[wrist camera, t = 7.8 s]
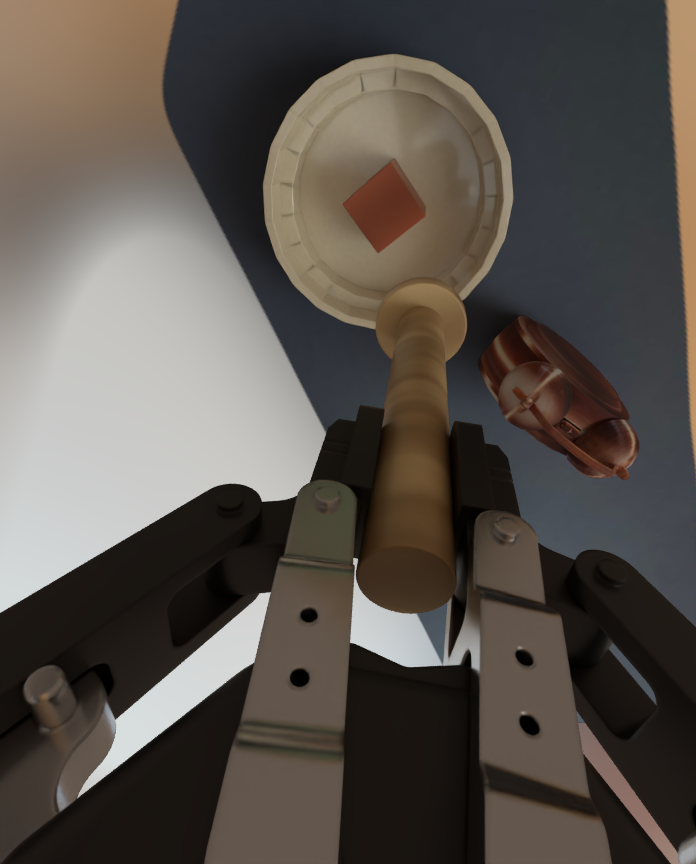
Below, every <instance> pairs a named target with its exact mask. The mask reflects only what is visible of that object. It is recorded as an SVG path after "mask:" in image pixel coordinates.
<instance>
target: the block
mask: <svg viewBox="0 0 696 864" xmlns="http://www.w3.org/2000/svg"><path fill="white" fill-rule="evenodd" d="M343 206H344V207H345V209H346V210H347V212H348V213H349V214H350V216H351V217H352V218H353V220H354V221H355V223H356V224H357V225H358V227H359V228H360V230H361V231H362V232H363V234H364V235H365V236H366V238H367V239H368V241H369V242H370V243H371V245H372V246H373V248H374V249H375V250H376V252H377V253H380V252H381V251H382V250H383V249H385V248H386V247H387V246H389V245H390V244H391V243H392V242H394V241H395V240H396V239H397V238H399V237H400V236H401V235H403V234H404V233H405V232H406V231H408V230H409V229H410V228H411V227H413V226H414V225H415V224H417V223H418V222H419V221H420V220H422V219H423V218H424V217H425V216H426V205H425V204H424V202H423V201H422V199H421V198H420V196H419V194H418V193H417V191H416V190H415V188H414V187H413V185H412V184H411V182H410V181H409V179H408V178H407V176H406V175H405V173H404V171H403V170H402V168H401V167H400V165H399V164H398V162H397V161H396V159H395V158H393V159H392V160H391V161H390V162H389V163H388V164H386V165H385V166H384V167H383V168H382V169H381V170H380V171H378V172H377V173H376V174H375V175H374V176H373V177H372V178H370V179H369V180H368V181H367V182H366V183H365V184H364V185H362V186H361V187H360V188H359V189H358V190H357V191H356V192H355V193H353V194H352V195H351V196H350V197H349V198H348V199H347V200H346V201H345V202H344V203H343Z"/></svg>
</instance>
